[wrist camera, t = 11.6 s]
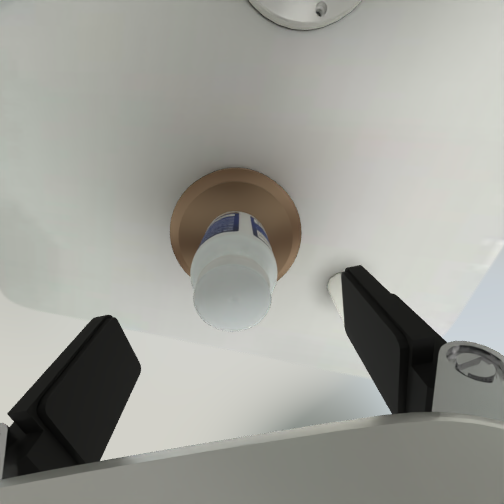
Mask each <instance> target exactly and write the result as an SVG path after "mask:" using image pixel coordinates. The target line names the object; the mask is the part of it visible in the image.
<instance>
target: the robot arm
mask: <svg viewBox="0 0 504 504" xmlns="http://www.w3.org/2000/svg"><path fill="white" fill-rule="evenodd" d="M361 1H362V0H249V2H250V3H251V4H252V5H253V6H254V7H255V8H256V9H257V10H258V11H259V12H260V13H261V14H262V15H263V16H265V17H266V18H268V19H270V20H271V21H273V22H275V23H276V24H278V25H282V26H285V27H288V28H291V29H300V30H310V29H316V28H322V27H325V26H327V25H329V24H332V23H334V22H336V21H338V20H340V19H341V18H342V17H344V16H345V15H347V14H348V13H350V12H351V11H352V10H353V9H354V8H355V7H356V6H357V5H358V4H359V3H360V2H361ZM316 12H319V13H320V14H321V16H318V15H317V14H316ZM341 284H342V298H343V312H344V326H345V331H346V333H347V336H348V337H349V339H350V341H351V343H352V344H353V346H354V348H355V350H356V351H357V353H358V355H359V357H360V358H361V360H362V362H363V364H364V365H365V367H366V369H367V371H368V372H369V374H370V376H371V378H372V379H373V381H374V383H375V385H376V386H377V388H378V390H379V392H380V393H381V395H382V397H383V399H384V400H385V402H386V404H387V406H388V407H389V409H390V411H391V413H392V414H391V415H381V416H374V417H367V418H360V419H353V420H346V421H339V422H332V423H325V424H319V425H313V426H307V427H301V428H295V429H288V430H282V431H276V432H270V433H264V434H258V435H251V436H245V437H239V438H233V439H227V440H221V441H215V442H209V443H203V444H197V445H192V446H185V447H180V448H174V449H168V450H163V451H156V452H150V453H144V454H139V455H133V456H127V457H122V458H116V459H110V460H104V461H100V459H101V457H102V455H103V453H104V451H105V448H106V446H107V444H108V442H109V440H110V438H111V435H112V433H113V431H114V429H115V427H116V424H117V423H118V420H119V418H120V416H121V414H122V412H123V410H124V407H125V405H126V403H127V401H128V398H129V397H130V394H131V392H132V390H133V388H134V385H135V384H136V381H137V379H138V377H139V375H140V372H141V365H140V363H139V361H138V359H137V357H136V355H135V353H134V351H133V349H132V347H131V345H130V343H129V342H128V340H127V338H126V336H125V334H124V332H123V330H122V328H121V326H120V324H119V322H118V320H117V319H116V318H114V317H112V316H111V315H105V316H100V317H95V318H93V319H92V320H91V321H90V322H89V323H88V324H87V326H86V327H85V328H84V329H83V330H82V331H81V332H80V333H79V335H78V336H77V337H76V338H75V339H74V340H73V341H72V342H71V343H70V345H69V346H68V347H67V348H66V349H65V350H64V351H63V352H62V353H61V355H60V356H59V357H58V358H57V359H56V360H55V361H54V362H53V363H52V365H51V366H50V367H49V368H48V369H47V370H46V371H45V372H44V374H43V375H42V376H41V377H40V378H39V379H38V380H37V381H36V383H35V384H34V385H33V386H32V387H31V388H30V389H29V390H28V391H27V392H26V394H25V395H24V396H23V397H22V398H21V399H20V400H19V401H18V402H17V404H16V405H15V406H14V407H13V408H12V409H11V410H10V411H9V412H8V415H9V416H10V417H11V419H12V420H13V421H14V423H13V424H12V425H11V426H10V427H8V426H7V425H6V424H4V423H0V504H504V356H503V355H501V354H500V353H498V352H497V351H495V350H493V349H490V348H489V347H486V346H483V345H480V344H477V343H473V342H467V341H453V342H449V343H447V342H446V341H445V340H444V339H443V338H442V337H441V336H440V335H439V334H437V333H436V332H435V331H434V330H433V329H432V328H431V327H430V326H429V325H428V324H427V323H426V322H425V321H424V320H422V319H421V318H420V317H419V316H418V315H417V314H416V313H415V312H414V311H413V310H412V309H411V308H410V307H408V306H407V305H406V304H405V303H404V302H403V301H402V300H401V299H400V298H399V297H398V296H396V295H395V294H392V293H390V292H389V291H388V290H387V289H386V288H385V287H383V286H382V285H381V284H380V283H379V282H378V281H377V280H376V279H375V278H374V277H373V276H372V275H371V274H370V273H369V272H368V271H367V270H366V269H365V268H364V267H363V266H361V265H359V266H354V267H349V268H346V269H345V272H342V273H341Z"/></svg>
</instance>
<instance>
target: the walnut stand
mask: <svg viewBox="0 0 504 504" xmlns="http://www.w3.org/2000/svg"><path fill="white" fill-rule="evenodd" d="M232 211H237V212H244V213H247V214H250V215H252V216H253V217H255V218H256V219H257V220H258V221H259V222H260V223H261V224H262V226H263V228H264V229H265V231H266V234H267V237H268V240H269V243H270V246H271V248H272V251H273V254H274V257H275V260H276V264H277V281H278V280H279V279H280V278H281V277H282V276H283V275H284V274H285V273H286V272H287V271H288V270H289V268H290V267H291V265H292V264H293V262H294V260H295V258H296V256H297V254H298V251H299V247H300V242H301V223H300V218H299V214H298V211H297V209H296V207H295V205H294V203H293V201H292V199H291V198H290V196H289V195H288V194H287V192H286V191H285V190H284V189H283V188H282V187H281V186H280V185H278V184H277V183H276V182H275V181H273V180H272V179H270V178H269V177H267V176H265V175H264V174H261V173H259V172H257V171H254V170H250V169H245V168H226V169H221V170H218V171H215V172H212V173H210V174H208V175H206V176H204V177H202V178H200V179H199V180H197V181H196V182H194V183H193V184H192V185H191V186H190V187H188V188H187V190H186V191H185V192H184V193H183V194H182V196H181V197H180V199H179V200H178V202H177V204H176V206H175V208H174V211H173V214H172V217H171V223H170V239H171V245H172V248H173V252H174V254H175V256H176V259H177V260H178V262H179V264H180V266H181V267H182V268H183V269H184V271H185V272H186V273H187V274H188V275H189V276H190V270H191V264H192V261H193V258H194V256H195V254H196V251H197V249H198V247H199V245H200V243H201V241H202V239H203V237H204V235H205V233H206V231H207V229H208V227H209V225H210V224H211V223H212V222H213V220H214V219H216V218H217V217H218V216H220V215H222V214H224V213H227V212H232Z"/></svg>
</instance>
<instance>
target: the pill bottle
mask: <svg viewBox="0 0 504 504" xmlns="http://www.w3.org/2000/svg"><path fill="white" fill-rule="evenodd" d="M190 277H191V283H192V286H193V289H194V296H193V301H194V306H195V309H196V311H197V313H198V314H199V316H200V317H201V318H202V319H203V321H205V322H206V323H207V324H208V325H210V326H212V327H214V328H216V329H219V330H222V331H230V332H234V331H242V330H246V329H248V328H251V327H253V326H255V325H256V324H258V323H259V322H260V321H261V320H262V319H263V318H264V317H265V316H266V314H267V312H268V310H269V308H270V305H271V298H272V297H271V294H272V292H273V290H274V288H275V285H276V282H277V264H276V260H275V257H274V254H273V251H272V248H271V246H270V243H269V240H268V237H267V234H266V231H265V229H264V228H263V226H262V224H261V223H260V222H259V221H258V220H257V219H256V218H255V217H253V216H252V215H250V214H247V213H244V212H237V211H232V212H227V213H224V214H222V215H220V216H218V217H217V218H216V219H214V220H213V222H212V223H211V224H210V225H209V227H208V229H207V231H206V233H205V235H204V237H203V239H202V241H201V243H200V245H199V247H198V249H197V251H196V254H195V256H194V258H193V261H192V264H191V270H190Z"/></svg>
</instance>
